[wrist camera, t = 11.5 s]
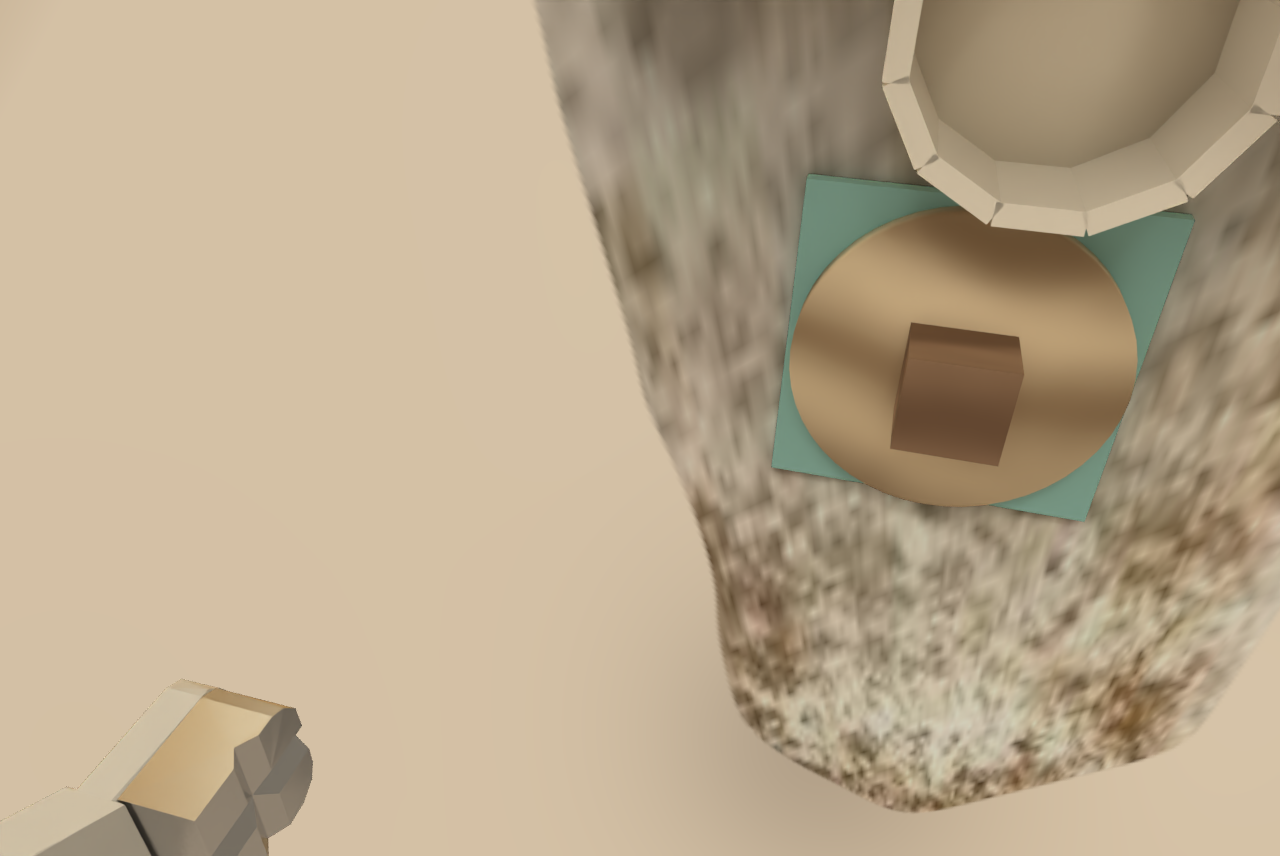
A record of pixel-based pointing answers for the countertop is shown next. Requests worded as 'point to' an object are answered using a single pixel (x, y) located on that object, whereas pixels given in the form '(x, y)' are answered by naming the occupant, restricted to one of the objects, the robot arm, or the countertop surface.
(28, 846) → the robot arm
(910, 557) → the countertop surface
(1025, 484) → the oak lid
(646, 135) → the countertop surface
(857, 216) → the rubber mat
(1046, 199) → the ceramic bowl
